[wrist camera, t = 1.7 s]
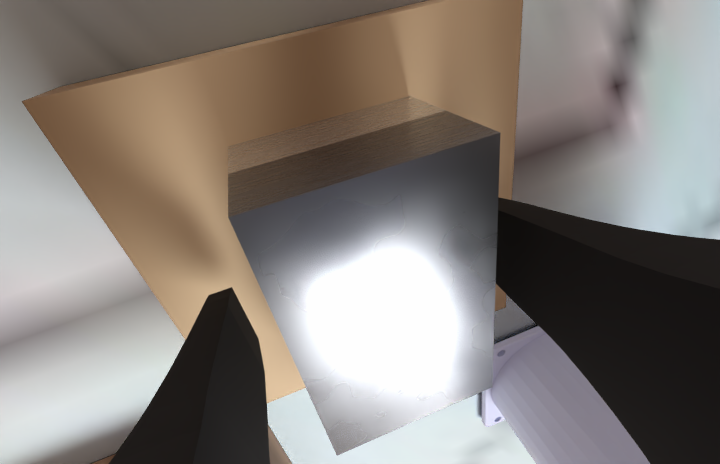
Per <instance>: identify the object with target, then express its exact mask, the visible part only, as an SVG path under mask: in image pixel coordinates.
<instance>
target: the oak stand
mask: <svg viewBox="0 0 720 464" xmlns="http://www.w3.org/2000/svg"><path fill="white" fill-rule="evenodd" d="M522 8H523V0H428V1H424V2H420V3H415V4H411V5H407V6H403V7H398V8H394V9H390V10H385V11H381V12H377V13H373V14H368V15H364V16H360V17H356V18H351V19H347V20H343V21H339V22H334V23H330V24H326V25H322V26H317V27H313V28H309V29H305V30H300V31H296V32H292V33H287V34H283V35H279V36H275V37H270V38H266V39H262V40H258V41H253V42H249V43H245V44H241V45H236V46H232V47H228V48H224V49H219V50H215V51H211V52H207V53H202V54H198V55H194V56H190V57H185V58H181V59H177V60H172V61H168V62H164V63H160V64H155V65H151V66H147V67H143V68H138V69H134V70H130V71H126V72H121V73H117V74H113V75H109V76H104V77H100V78H96V79H92V80H87V81H83V82H79V83H74V84H70V85H66V86H62V87H58V88H56V89H53V90H50V91H48V92H45V93H42V94H40V95H37V96H35V97H32V98H29V99H27V100H24V101H22V103H23V104H24V106H25V107H26V108H27V110H28V111H29V113H30V114H31V116H32V117H33V119H34V120H35V122H36V123H37V124H38V126H39V127H40V129H41V130H42V132H43V133H44V135H45V136H46V138H47V139H48V140H49V142H50V143H51V145H52V146H53V148H54V149H55V151H56V152H57V154H58V155H59V156H60V158H61V159H62V161H63V162H64V164H65V165H66V167H67V168H68V170H69V171H70V172H71V174H72V175H73V177H74V178H75V180H76V181H77V183H78V184H79V186H80V187H81V188H82V190H83V191H84V193H85V194H86V196H87V197H88V199H89V200H90V202H91V203H92V204H93V206H94V207H95V209H96V210H97V212H98V213H99V215H100V216H101V218H102V219H103V220H104V222H105V223H106V225H107V226H108V228H109V229H110V231H111V232H112V234H113V235H114V236H115V238H116V239H117V241H118V242H119V244H120V245H121V247H122V248H123V250H124V251H125V252H126V254H127V255H128V257H129V258H130V260H131V261H132V263H133V264H134V266H135V267H136V268H137V270H138V271H139V273H140V274H141V276H142V277H143V279H144V280H145V282H146V283H147V284H148V286H149V287H150V289H151V290H152V292H153V293H154V295H155V296H156V298H157V299H158V300H159V302H160V303H161V305H162V306H163V308H164V309H165V311H166V312H167V314H168V315H169V316H170V318H171V319H172V321H173V322H174V324H175V325H176V327H177V328H178V330H179V331H180V332H181V334H182V335H183V337H184V338H185V340H186V338H187V337H188V335H189V333H190V331H191V329H192V327H193V325H194V323H195V321H196V319H197V317H198V315H199V313H200V311H201V308H202V307H203V305H204V303H205V301H206V299H207V297H208V295H210V294H213V293H216V292H219V291H222V290H225V289H228V288H231V287H232V288H233V290H234V292H235V294H236V296H237V298H238V300H239V302H240V304H241V306H242V308H243V310H244V311H245V313H246V315H247V317H248V319H249V321H250V323H251V325H252V327H253V329H254V331H255V333H256V335H257V337H258V339H259V344H260V349H261V354H262V359H263V365H264V371H265V383H266V400H267V403H269V402H271V401H274V400H276V399H279V398H281V397H284V396H286V395H289V394H291V393H294V392H296V391H299V390H301V389H304V388H306V387H305V384H304V382H303V380H302V378H301V376H300V373H299V371H298V369H297V367H296V365H295V362H294V360H293V358H292V356H291V354H290V352H289V349H288V347H287V345H286V343H285V341H284V338H283V336H282V334H281V332H280V330H279V327H278V325H277V323H276V321H275V319H274V317H273V314H272V312H271V310H270V308H269V306H268V303H267V301H266V299H265V297H264V295H263V292H262V290H261V288H260V286H259V284H258V282H257V279H256V277H255V275H254V273H253V271H252V268H251V266H250V264H249V262H248V260H247V257H246V255H245V253H244V251H243V249H242V247H241V244H240V242H239V240H238V238H237V236H236V233H235V231H234V229H233V227H232V225H231V222H230V220H229V218H228V146H231V145H235V144H238V143H242V142H245V141H249V140H253V139H256V138H260V137H263V136H267V135H271V134H274V133H278V132H281V131H285V130H288V129H292V128H296V127H299V126H303V125H306V124H310V123H313V122H317V121H321V120H324V119H328V118H331V117H335V116H339V115H342V114H346V113H349V112H353V111H356V110H360V109H364V108H367V107H371V106H374V105H378V104H381V103H385V102H389V101H392V100H396V99H399V98H403V97H407V96H411V97H414V98H416V99H418V100H421V101H423V102H426V103H428V104H431V105H433V106H436V107H438V108H441V109H443V110H446V111H448V112H451V113H453V114H456V115H458V116H461V117H463V118H466V119H468V120H471V121H473V122H476V123H478V124H481V125H483V126H486V127H488V128H490V129H493V130H495V131H498V132H500V133H501V134H500V164H499V195H498V197H499V198H504V199H509V200H512V186H513V168H514V150H515V133H516V115H517V97H518V79H519V62H520V44H521V26H522ZM505 307H506V293H505V292H504V291H503V290H502V289H501V288H500V287H499V286H498V285H497V284H496V287H495V311H497V310H500V309H502V308H505Z"/></svg>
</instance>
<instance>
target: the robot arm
mask: <svg viewBox="0 0 720 464" xmlns="http://www.w3.org/2000/svg"><path fill="white" fill-rule="evenodd" d="M496 284H497V285H498V286H499V287H500V288H501V289H502V290H503V291H504V292H505V293H506V294H507V295H508V296H509V297H510V298H511V299H512V300H513V301H514V302H515V303H516V304H517V305H518V306H519V307H520V308H521V309H522V310H523V311H524V312H525V313H526V314H527V315H528V316H529V317H530V318H531V319H532V320H533V321H534V322H535V323H536V324H537V325H538V326H536V327H534V328H532V329H529V330H527V331H525V332H522V333H520V334H517V335H515V336H513V337H510V338H508V339H505V340H503V341H501V342H498V343H496V344H494V348H493V378H492V387H491V388H489V389H487V390H485V391H482V422H483V424H484V425H485V426H486V427H490V426H492V425H494V424H496V423H499V422H501V421H503V420H506V421H507V422H508V424H509V425H510V427H511V428H512V430H513V431H514V432H515V434H516V435H517V437H518V438H519V440H520V441H521V443H522V444H523V445H524V447H525V448H526V450H527V451H528V453H529V454H530V455H531V457H532V458H533V460H534V461H535V463H536V464H720V240H716V239H706V238H695V237H687V236H679V235H671V234H665V233H658V232H651V231H645V230H638V229H633V228H627V227H622V226H617V225H612V224H608V223H603V222H598V221H593V220H589V219H585V218H580V217H576V216H572V215H568V214H564V213H560V212H556V211H552V210H549V209H545V208H541V207H537V206H533V205H529V204H525V203H521V202H517V201H513V200H509V199H504V198H499V197H498V226H497V256H496ZM109 464H270V456H269V437H268V419H267V400H266V383H265V371H264V365H263V359H262V354H261V349H260V344H259V339H258V337H257V335H256V333H255V331H254V329H253V327H252V325H251V323H250V321H249V319H248V317H247V315H246V313H245V311H244V310H243V308H242V306H241V304H240V302H239V300H238V298H237V296H236V294H235V292H234V290H233V288H232V287H231V288H228V289H225V290H222V291H219V292H216V293H213V294H210V295H208V297H207V299H206V301H205V303H204V305H203V307H202V308H201V311H200V313H199V315H198V317H197V319H196V321H195V323H194V325H193V327H192V329H191V331H190V333H189V335H188V337H187V338H186V340H185V342H184V344H183V346H182V348H181V350H180V352H179V354H178V355H177V357H176V359H175V361H174V363H173V365H172V367H171V368H170V370H169V372H168V374H167V375H166V377H165V379H164V381H163V382H162V384H161V386H160V387H159V389H158V391H157V392H156V394H155V396H154V397H153V399H152V401H151V402H150V404H149V406H148V407H147V409H146V410H145V412H144V414H143V415H142V417H141V418H140V420H139V421H138V423H137V424H136V426H135V427H134V429H133V430H132V431H131V433H130V434H129V436H128V437H127V439H126V440H125V441H124V443H123V444H122V446H121V447H120V449H119V450H118V451H117V453H116V454H115V456H114V457H113V458H112V460H111V461H110V462H109Z"/></svg>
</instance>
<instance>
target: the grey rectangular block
mask: <svg viewBox="0 0 720 464" xmlns="http://www.w3.org/2000/svg"><path fill="white" fill-rule="evenodd" d="M500 134H501V133H500V132H498V131H495V130H493V129H490V128H488V127H486V126H483V125H481V124H478V123H476V122H473V121H471V120H468V119H466V118H463V117H461V116H458V115H456V114H453V113H451V112H448V111H446V110H443V109H441V108H438V107H436V106H433V105H431V104H428V103H426V102H423V101H421V100H418V99H416V98H414V97H411V96H407V97H403V98H399V99H396V100H392V101H389V102H385V103H381V104H378V105H374V106H371V107H367V108H364V109H360V110H356V111H353V112H349V113H346V114H342V115H339V116H335V117H331V118H328V119H324V120H321V121H317V122H313V123H310V124H306V125H303V126H299V127H296V128H292V129H288V130H285V131H281V132H278V133H274V134H271V135H267V136H263V137H260V138H256V139H253V140H249V141H245V142H242V143H238V144H235V145H231V146H228V218H229V220H230V222H231V225H232V227H233V229H234V231H235V233H236V236H237V238H238V240H239V242H240V244H241V247H242V249H243V251H244V253H245V255H246V257H247V260H248V262H249V264H250V266H251V268H252V271H253V273H254V275H255V277H256V279H257V282H258V284H259V286H260V288H261V290H262V292H263V295H264V297H265V299H266V301H267V303H268V306H269V308H270V310H271V312H272V314H273V317H274V319H275V321H276V323H277V325H278V327H279V330H280V332H281V334H282V336H283V338H284V341H285V343H286V345H287V347H288V349H289V352H290V354H291V356H292V358H293V360H294V362H295V365H296V367H297V369H298V371H299V373H300V376H301V378H302V380H303V382H304V384H305V387H306V389H307V391H308V393H309V395H310V397H311V400H312V402H313V404H314V406H315V408H316V411H317V413H318V415H319V417H320V419H321V421H322V424H323V426H324V428H325V430H326V432H327V435H328V437H329V439H330V441H331V443H332V446H333V448H334V450H335V452H336V454H337V455H339V454H342V453H344V452H346V451H348V450H351V449H353V448H355V447H357V446H360V445H362V444H364V443H367V442H369V441H371V440H373V439H376V438H378V437H380V436H382V435H385V434H387V433H389V432H392V431H394V430H396V429H398V428H401V427H403V426H405V425H407V424H410V423H412V422H414V421H416V420H419V419H421V418H423V417H426V416H428V415H430V414H432V413H435V412H437V411H439V410H441V409H444V408H446V407H448V406H451V405H453V404H455V403H457V402H460V401H462V400H464V399H466V398H469V397H471V396H473V395H476V394H478V393H480V392H482V391H485V390H487V389H489V388H491V387H492V378H493V348H494V317H495V287H496V256H497V226H498V195H499V164H500Z"/></svg>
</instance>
